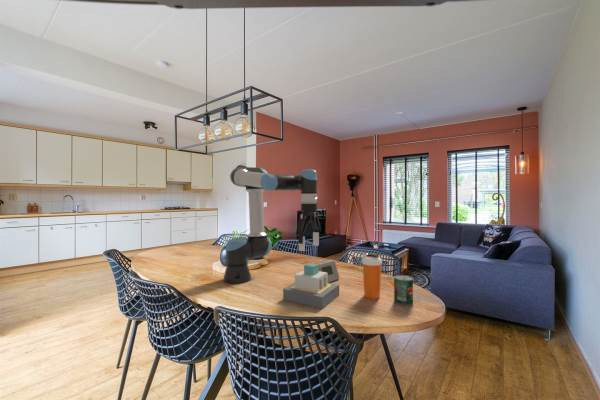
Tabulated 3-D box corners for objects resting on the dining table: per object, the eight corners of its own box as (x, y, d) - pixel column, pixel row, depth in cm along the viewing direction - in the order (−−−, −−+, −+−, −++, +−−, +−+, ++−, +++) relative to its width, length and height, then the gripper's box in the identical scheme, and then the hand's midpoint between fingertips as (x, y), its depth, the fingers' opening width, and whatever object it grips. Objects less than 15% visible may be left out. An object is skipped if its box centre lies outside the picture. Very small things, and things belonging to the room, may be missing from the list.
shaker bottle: (378, 301, 121) (378, 256, 120) (359, 297, 126) (359, 254, 125) (384, 295, 128) (384, 253, 128) (365, 291, 133) (365, 251, 133)
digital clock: (319, 286, 142) (319, 266, 141) (310, 281, 149) (309, 262, 149) (343, 281, 150) (343, 261, 150) (333, 276, 158) (333, 258, 157)
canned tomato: (392, 298, 124) (392, 274, 124) (410, 298, 123) (409, 274, 123) (396, 305, 116) (396, 280, 116) (415, 306, 115) (415, 280, 115)
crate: (304, 273, 126) (303, 265, 126) (309, 271, 130) (309, 263, 130) (313, 275, 123) (313, 266, 123) (318, 272, 127) (318, 264, 127)
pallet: (294, 287, 125) (294, 274, 125) (305, 281, 134) (305, 269, 134) (317, 291, 119) (317, 278, 119) (327, 285, 128) (327, 272, 128)
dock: (283, 299, 124) (283, 288, 124) (303, 287, 139) (302, 277, 139) (322, 308, 114) (322, 296, 114) (339, 295, 129) (339, 284, 129)
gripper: (302, 204, 114) (302, 254, 115) (327, 202, 135) (327, 244, 136) (287, 203, 118) (287, 252, 119) (314, 201, 139) (314, 242, 140)
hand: (309, 248), depth 127 cm, fingers open, 13 cm apart
